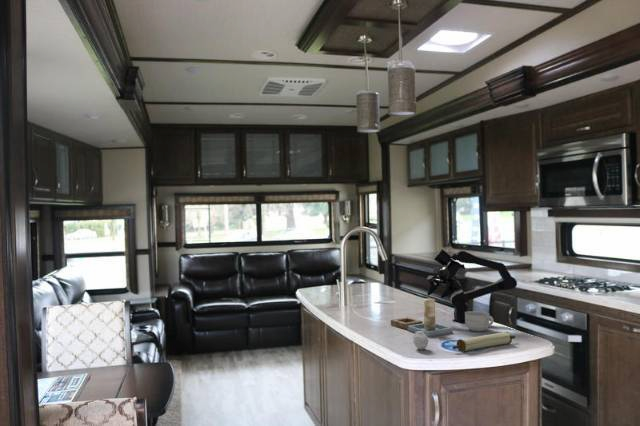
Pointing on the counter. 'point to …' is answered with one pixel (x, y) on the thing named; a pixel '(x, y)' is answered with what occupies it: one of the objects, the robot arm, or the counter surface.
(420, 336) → the grey round lump
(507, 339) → the rolling pin
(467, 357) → the counter surface
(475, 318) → the teacup
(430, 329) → the dowel
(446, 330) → the tray
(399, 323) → the socket block
